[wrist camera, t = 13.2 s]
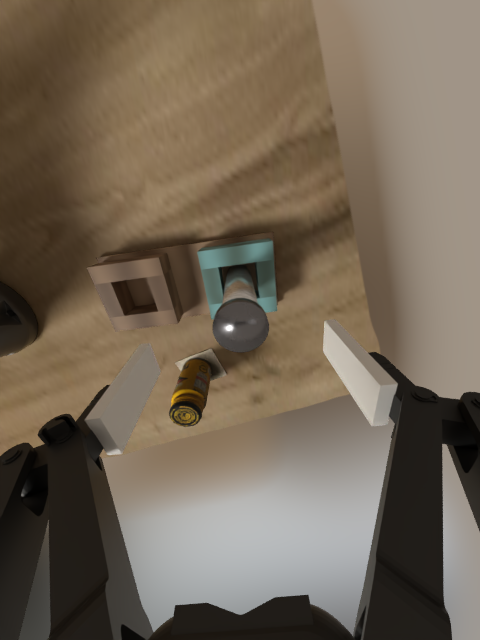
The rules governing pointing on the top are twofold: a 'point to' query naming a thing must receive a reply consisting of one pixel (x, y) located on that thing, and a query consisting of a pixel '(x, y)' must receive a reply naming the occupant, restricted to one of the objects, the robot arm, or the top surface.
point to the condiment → (194, 387)
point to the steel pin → (240, 314)
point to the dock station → (181, 280)
